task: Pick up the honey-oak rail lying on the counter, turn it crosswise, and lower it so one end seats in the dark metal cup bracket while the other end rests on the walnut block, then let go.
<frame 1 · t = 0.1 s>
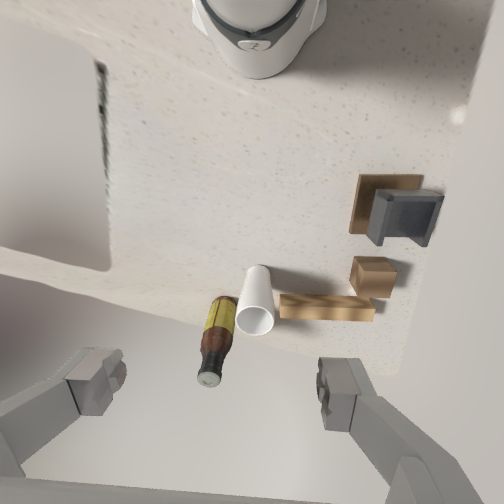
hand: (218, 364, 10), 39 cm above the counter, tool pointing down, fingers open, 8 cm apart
sauce bottle: (225, 304, 58), on the counter
oak rail: (322, 300, 56), on the counter
walnut block: (365, 269, 51), on the counter
cup bracket: (381, 204, 45), on the counter
drinking glass: (258, 273, 53), on the counter
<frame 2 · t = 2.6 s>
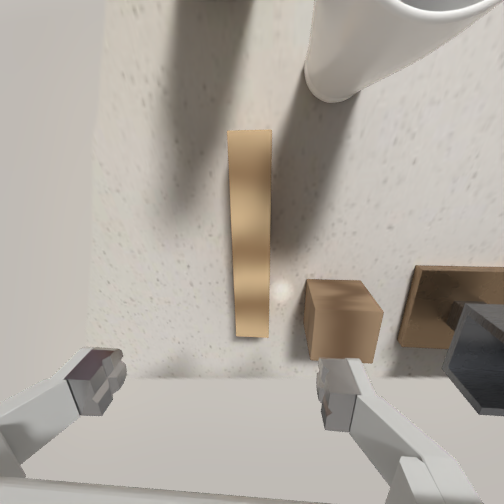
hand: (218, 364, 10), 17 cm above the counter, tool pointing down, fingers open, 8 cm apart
oak rail: (254, 236, 26), on the counter
walnut block: (330, 302, 28), on the counter
cup bracket: (456, 306, 27), on the counter
drinking glass: (334, 69, 20), on the counter
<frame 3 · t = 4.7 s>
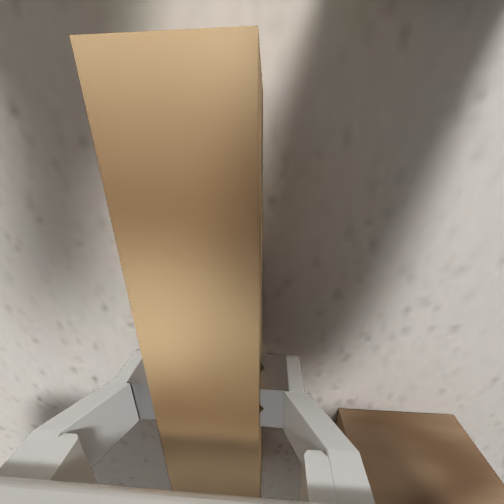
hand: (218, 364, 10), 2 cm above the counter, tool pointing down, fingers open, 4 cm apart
oak rail: (227, 326, 12), on the counter, touching gripper
walnut block: (384, 447, 14), on the counter
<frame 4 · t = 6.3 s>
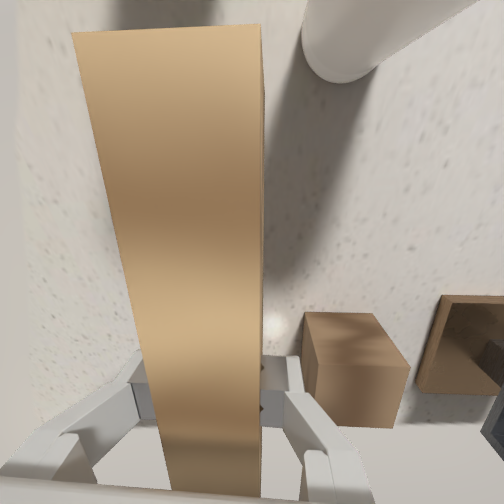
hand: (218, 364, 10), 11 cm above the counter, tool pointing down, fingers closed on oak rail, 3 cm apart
oak rail: (228, 325, 12), point 9 cm above the counter, touching gripper
walnut block: (334, 339, 23), on the counter
cup bracket: (489, 343, 22), on the counter
drinking glass: (342, 36, 15), on the counter
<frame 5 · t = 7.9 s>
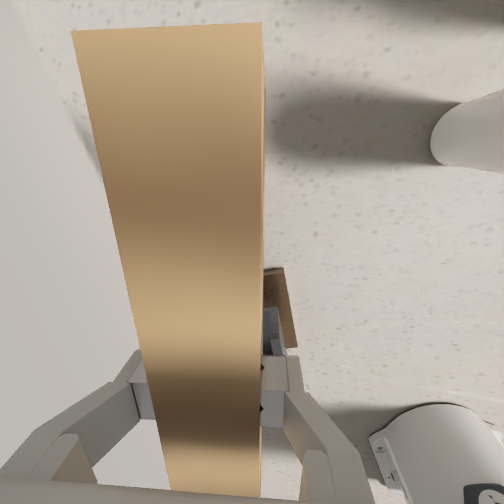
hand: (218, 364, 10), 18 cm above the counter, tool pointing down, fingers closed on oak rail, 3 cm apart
oak rail: (228, 326, 12), point 16 cm above the counter, touching gripper
cup bracket: (251, 311, 31), on the counter
drinking glass: (455, 136, 22), on the counter
when the fingers open (9 cm above the counter, at t = 10.1 s): oak rail stays where it is, resting on cup bracket, walnut block.
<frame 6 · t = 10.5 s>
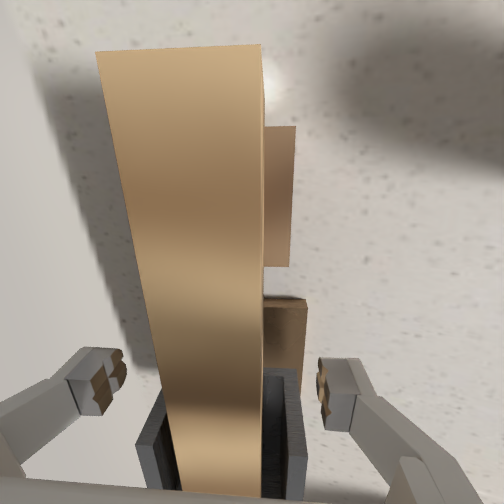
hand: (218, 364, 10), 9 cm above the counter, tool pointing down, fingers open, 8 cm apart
oak rail: (230, 318, 13), point 6 cm above the counter, touching cup bracket, walnut block
walnut block: (239, 189, 16), on the counter
cup bracket: (244, 351, 21), on the counter
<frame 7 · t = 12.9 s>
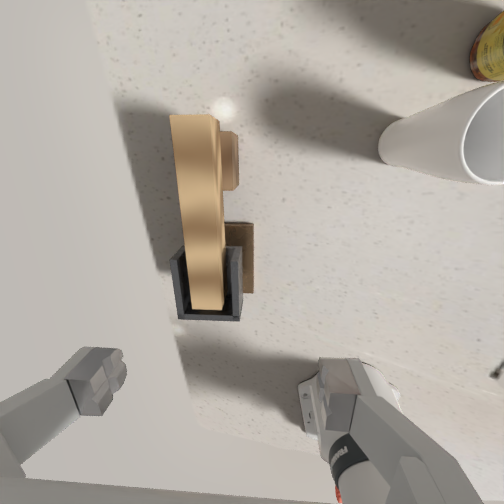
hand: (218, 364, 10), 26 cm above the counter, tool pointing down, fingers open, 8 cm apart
sauce bottle: (492, 52, 26), on the counter
oak rail: (209, 216, 28), point 6 cm above the counter, touching cup bracket, walnut block
walnut block: (216, 160, 32), on the counter
cup bracket: (221, 257, 37), on the counter
drinking glass: (397, 143, 30), on the counter
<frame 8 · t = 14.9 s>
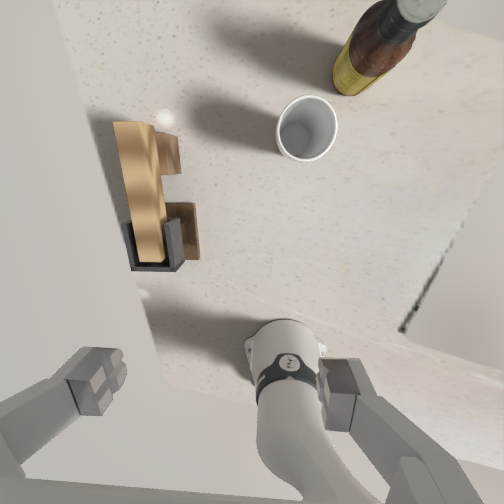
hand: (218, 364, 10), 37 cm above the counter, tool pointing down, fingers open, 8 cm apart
sauce bottle: (349, 75, 37), on the counter
oak rail: (153, 194, 39), point 6 cm above the counter, touching cup bracket, walnut block
walnut block: (162, 155, 42), on the counter
cup bracket: (173, 231, 47), on the counter
drinking glass: (293, 141, 40), on the counter
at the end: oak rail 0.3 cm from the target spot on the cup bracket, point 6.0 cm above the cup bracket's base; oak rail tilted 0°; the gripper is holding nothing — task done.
